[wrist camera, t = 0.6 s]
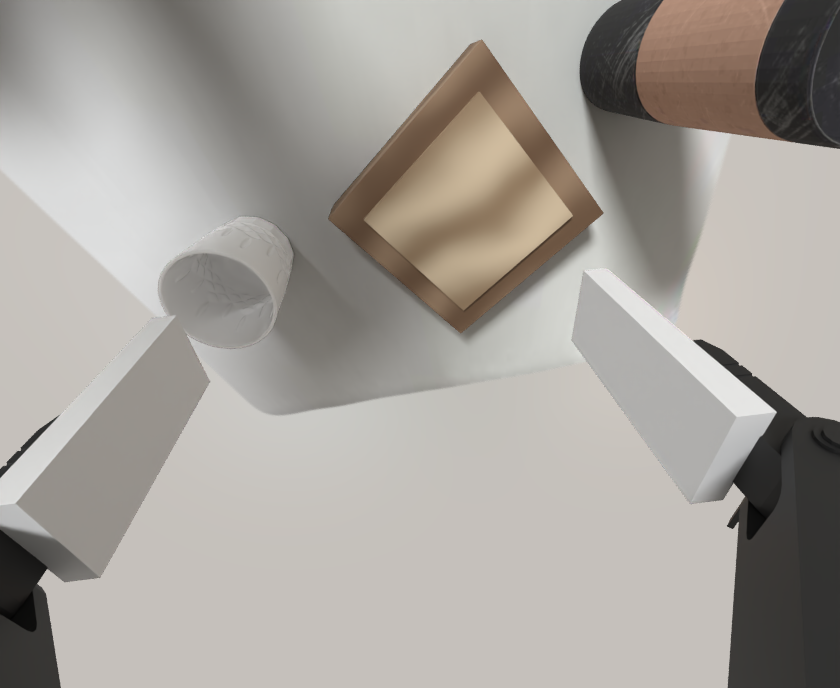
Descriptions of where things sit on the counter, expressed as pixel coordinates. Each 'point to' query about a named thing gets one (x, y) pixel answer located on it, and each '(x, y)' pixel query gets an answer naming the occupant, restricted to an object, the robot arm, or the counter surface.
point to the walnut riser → (466, 194)
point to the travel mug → (721, 66)
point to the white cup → (229, 283)
